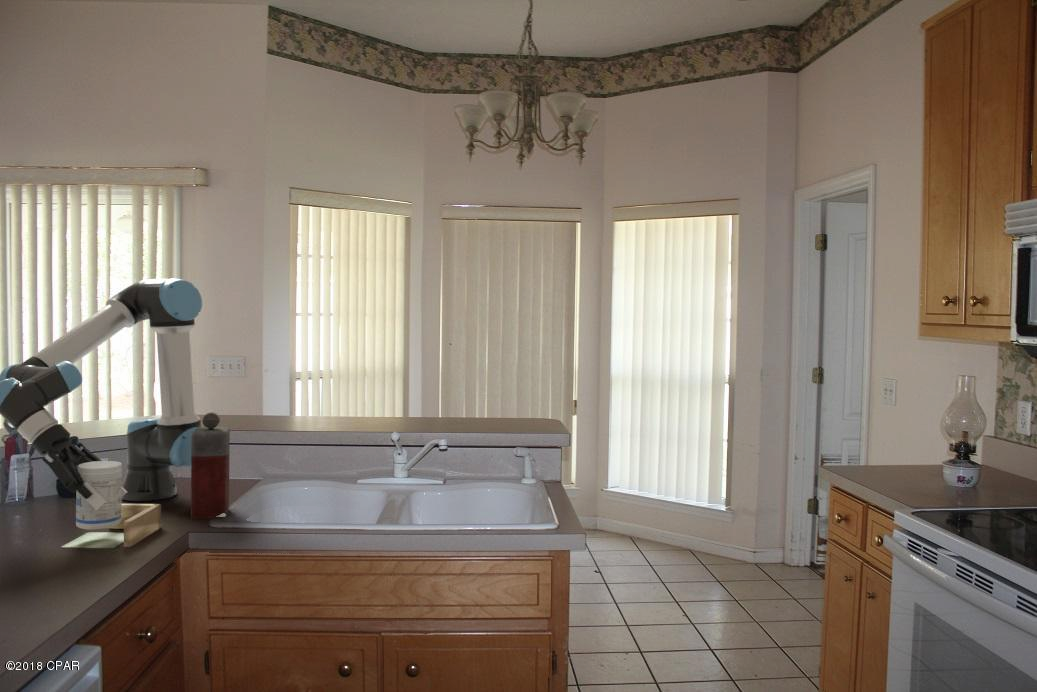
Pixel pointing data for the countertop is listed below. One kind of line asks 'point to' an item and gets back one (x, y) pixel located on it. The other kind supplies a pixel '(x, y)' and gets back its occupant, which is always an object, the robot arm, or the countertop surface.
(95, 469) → the supplement tub
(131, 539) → the corner arena
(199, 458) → the dark red bottle
